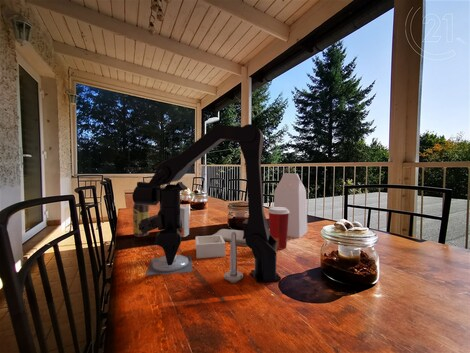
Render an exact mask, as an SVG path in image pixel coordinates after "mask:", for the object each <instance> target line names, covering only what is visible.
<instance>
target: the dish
mask: <svg viewBox="0 0 470 353" xmlns="http://www.w3.org/2000/svg"><path fill="white" fill-rule="evenodd" d="M195 257H196V259H207V258H221V257H222V258H223V257H226V241H224V239H223V237H222V235H215V236H212V235H201V236H199V235H197V236H195Z"/></svg>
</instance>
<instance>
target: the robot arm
mask: <svg viewBox="0 0 470 353" xmlns="http://www.w3.org/2000/svg"><path fill="white" fill-rule="evenodd" d="M223 141H227V142H233V143H238V144H239V147H240V150H241V153H242V157H243V160H244V165H245V179H246V190H247V191H246V194H247V205H248V206H247V207H248V208H247V209H248V218H245V220H244V221H243V222H242V223H241V227H242V231H243V232H244V236H243V239H245V241H246V245H247V246H246V247H248V248H249V249H250V250H251V252H252V254H253V257H254V269H251V270H250V274H251V275H252V277H253V278H254V280H255V282H256V283H267V282H269V283H270V282H278V281H279V282H280V281H281V280H282V277H281V276H280V275H279V274H278V272H277V262H278V261H277V257H278V256H277V250H278V249H277V243H278V242H277V241H276V240H275V239H274V238H273V237H272V236H271V235H270V226H269V222H268V220H267V217H266V215H265V209H264V196H263V195H264V193H263V181H262V178H263V177H262V166H261V158H262V153H263V147H264V134H263V132H262V131H261V129H260V128H259V127H258V126H256V124H252V123H250V124H249V123H248V124H245V125H243V126H238V125H237V126H236V125H224V124H221V123H217V124H214V125H213V127H212V128H211V129H209V130H208V131H207V132H206V133H204V134H203V135H202V136H201V137H199V138H198V139H197V140H195V141H194V142H193V143H192V144H190V145H189V147H187V148H186V149H185V150H183V151H182V152H181V153H178V154H176V155H175V156H172V157H169V158H168V159H166V160H164V161H162V162H160V163H158V164H157V166H156V167H155V172H154V175H153V176H152V178H151V179H150V180H149V182H148V181H147V182H146V181H137V182H136V186H135V188H134V190H133V192H132V194H131V195H132V197H131V198H132V201H133V203H134V204H137V205H149V206H157V205H158V204H159V210H158V212H157V214H155V215H153V216H149V218H145V219H142V220H141V221H140V222H139V223H138V225H139V230H141V232H142V234H145V233H147V232H149V233H150V232H152V231H154V230H156V229H157V230H158V232H157V234H156V236H155V237H154V238H155V245H156V246H158V247H159V248H162V249H163V252H164V256H166V260H167V264H168V265H172V263H173V261H174V258H175V256H176V255H177V253H178V250H179V248H180V245H181V243H182V237H181V232H182V221H181V218H180V212H181V208H180V207H181V191H182V192H183V191H187V190H188V187H187V186H186V185H184V183H183V181H180V180H181V179H183V177H184V176H185V175H186V174H187V172H188V171H189V169H190V168H191V167H192V166H193V164H195V163H196V162H197V161H199V159H201V158H203V157H204V156H205V155H206V154H208V153H209V152H210V151H211V150H213V149H214V148H215V147H217V146H218V145H219V144H220V143H222V142H223ZM174 182H177V183H176V184H175V183H174ZM172 183H174V184H172ZM162 186H164V187H162Z"/></svg>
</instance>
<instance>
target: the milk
mask: <svg viewBox="0 0 470 353" xmlns="http://www.w3.org/2000/svg"><path fill="white" fill-rule="evenodd" d="M273 198H274V199H273V207H284V208H287V209H288V210H289V212H290V213H289V216H288V232H287V237H290V238H297V239H300V238H302V237H303V236H304V235H306V234H307V233H308V210H307V209H308V208H307V207H308V206H307V190H306V187H305V186H304V184H303V182H302V181H301V179H300V176H299V174H298V173H295V172H294V173H291V172H290V173H288V172H286V173H285V172H284V173H283V174H282V176H281V179H280V181H279V183H278V184H277V186H276V188H275V190H274V195H273Z"/></svg>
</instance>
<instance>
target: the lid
mask: <svg viewBox="0 0 470 353" xmlns="http://www.w3.org/2000/svg"><path fill="white" fill-rule="evenodd" d="M185 256H186V255H180V254H176V256H175V258H174V261H173V263H172V265H168V264H167V260H166V256H165V255H164V256H160V257H156V258H157V259H156V260H154V261H153V269H154V270H156V271H160V272H173V271H178V270H181V269H183V268H185V267H187V266H188V258H187V257H185Z"/></svg>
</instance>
